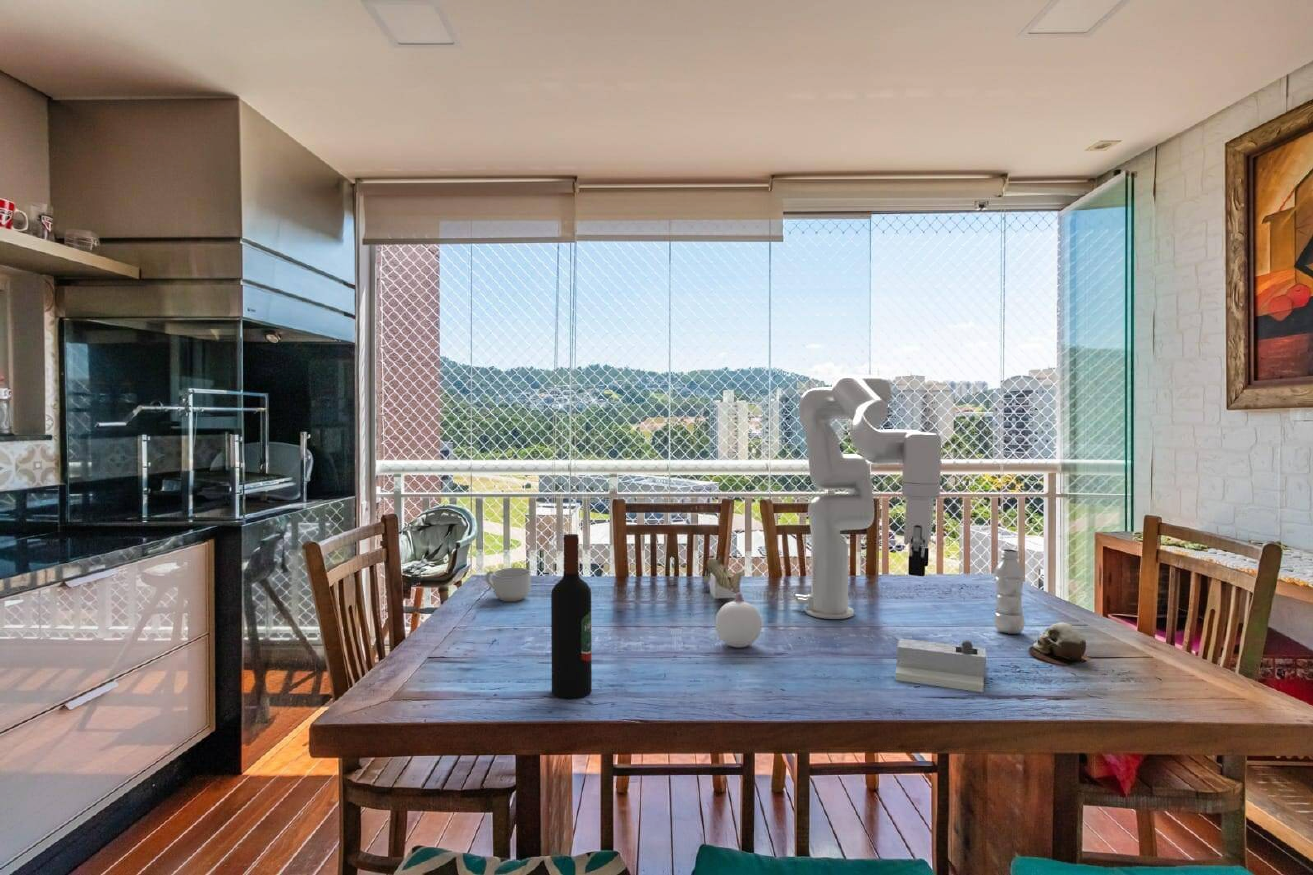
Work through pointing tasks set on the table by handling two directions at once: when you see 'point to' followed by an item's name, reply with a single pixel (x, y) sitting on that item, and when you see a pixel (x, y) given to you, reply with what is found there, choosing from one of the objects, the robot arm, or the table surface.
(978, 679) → the board
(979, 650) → the link plate
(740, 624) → the ornament
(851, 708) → the table surface
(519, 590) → the teacup
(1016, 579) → the plastic bottle
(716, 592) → the wood carving
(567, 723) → the table surface
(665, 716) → the table surface
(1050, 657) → the skull
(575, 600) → the wine bottle
